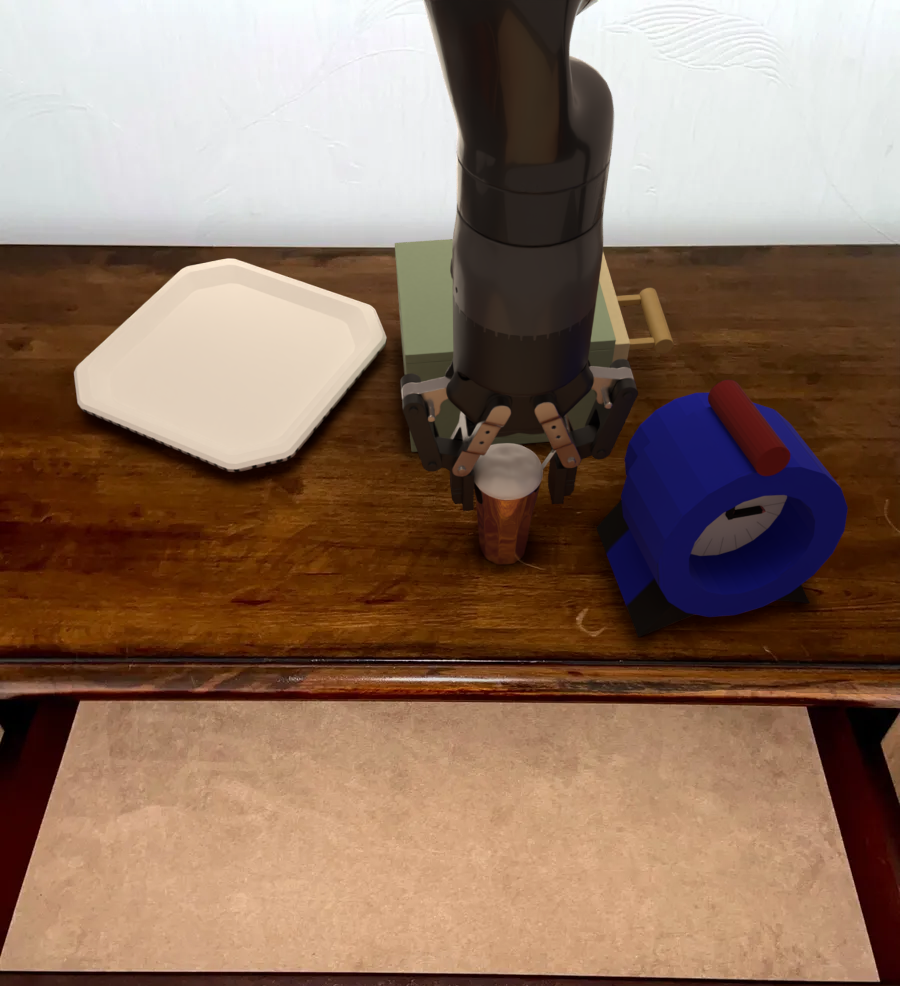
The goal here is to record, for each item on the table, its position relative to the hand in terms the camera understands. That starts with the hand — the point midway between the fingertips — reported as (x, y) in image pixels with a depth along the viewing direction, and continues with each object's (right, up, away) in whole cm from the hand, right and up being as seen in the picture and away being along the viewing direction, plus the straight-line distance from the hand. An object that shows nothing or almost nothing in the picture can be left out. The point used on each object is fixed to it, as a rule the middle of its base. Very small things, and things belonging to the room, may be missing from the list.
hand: (511, 496), depth 63 cm
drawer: (+4, +11, +13) cm, 17 cm away
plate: (-22, +12, +15) cm, 29 cm away
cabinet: (0, +10, +14) cm, 17 cm away
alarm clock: (+13, -4, +4) cm, 14 cm away
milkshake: (0, -3, +5) cm, 6 cm away
